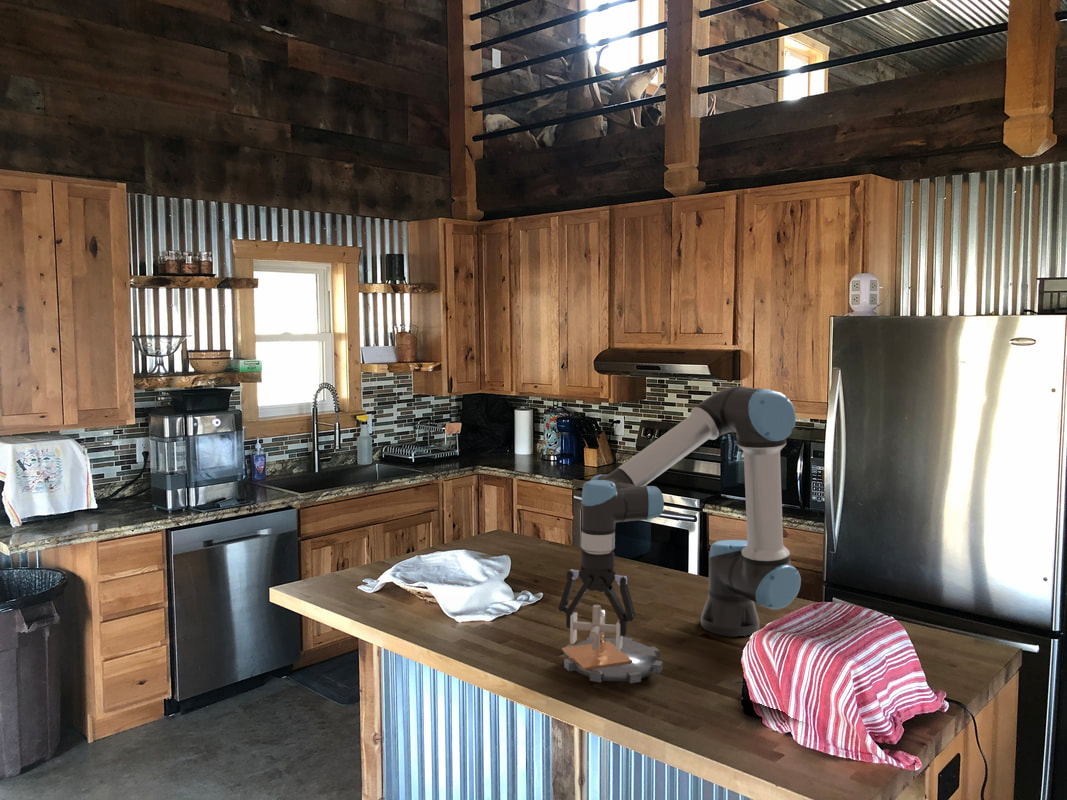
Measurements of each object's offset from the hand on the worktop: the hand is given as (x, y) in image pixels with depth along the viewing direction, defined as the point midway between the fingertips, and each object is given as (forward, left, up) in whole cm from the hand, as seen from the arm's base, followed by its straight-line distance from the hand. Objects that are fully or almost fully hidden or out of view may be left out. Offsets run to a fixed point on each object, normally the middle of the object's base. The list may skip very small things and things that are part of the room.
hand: (596, 645), depth 193 cm
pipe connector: (0, 0, -1) cm, 1 cm away
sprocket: (-3, -3, -5) cm, 7 cm away
